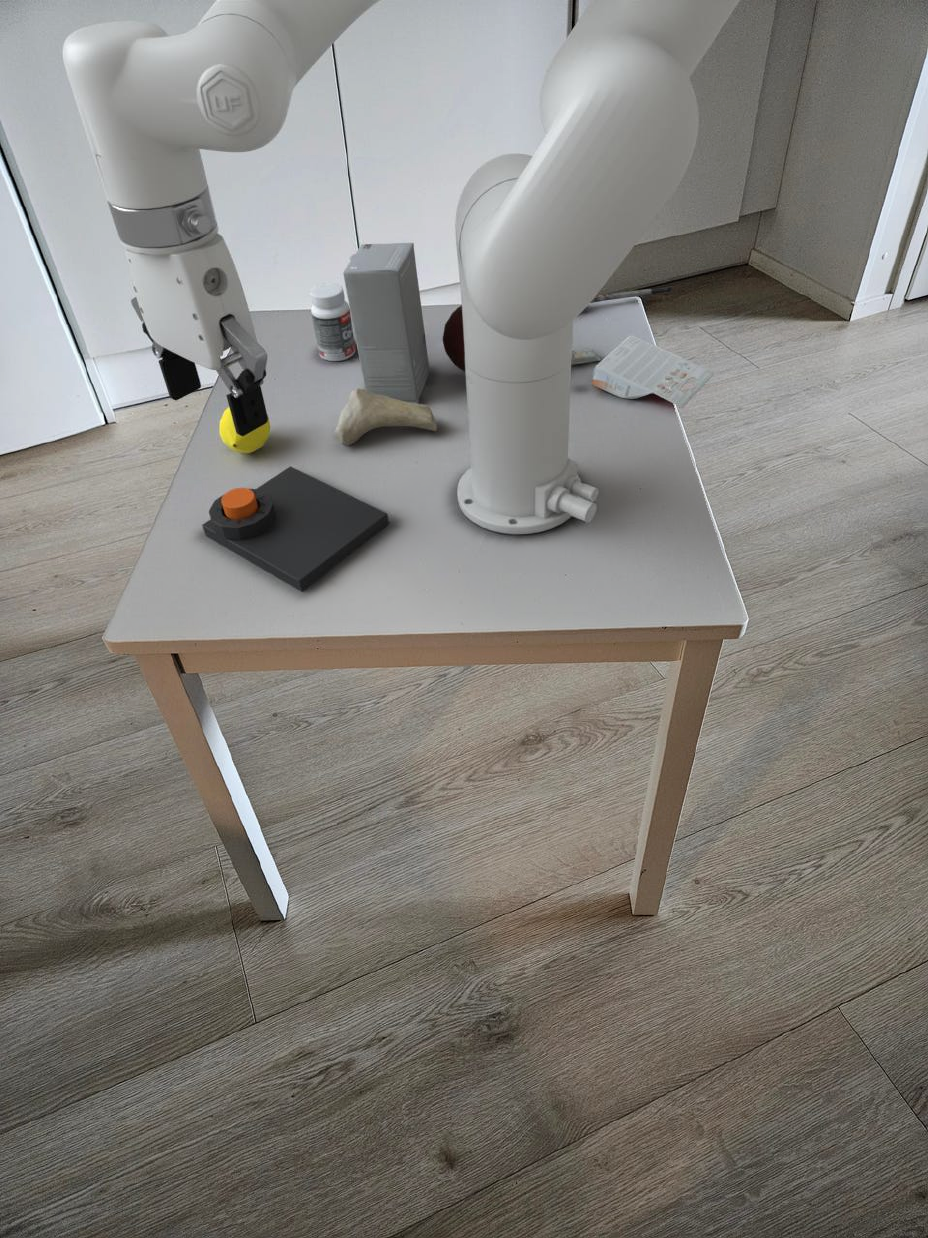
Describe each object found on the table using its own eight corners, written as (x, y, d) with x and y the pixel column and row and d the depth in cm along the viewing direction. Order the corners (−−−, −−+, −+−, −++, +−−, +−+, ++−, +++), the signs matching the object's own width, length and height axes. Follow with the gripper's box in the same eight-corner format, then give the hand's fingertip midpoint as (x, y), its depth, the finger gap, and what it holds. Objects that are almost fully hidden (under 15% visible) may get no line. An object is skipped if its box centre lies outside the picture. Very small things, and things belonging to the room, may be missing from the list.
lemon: (238, 429, 100) (226, 387, 96) (283, 431, 99) (273, 389, 96) (216, 465, 95) (203, 422, 92) (263, 467, 95) (251, 425, 91)
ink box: (625, 349, 107) (707, 391, 104) (588, 383, 102) (674, 428, 99) (631, 329, 105) (716, 371, 102) (594, 362, 100) (682, 408, 97)
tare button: (264, 507, 85) (261, 494, 84) (239, 524, 83) (236, 511, 82) (243, 496, 87) (239, 483, 86) (218, 512, 85) (214, 500, 84)
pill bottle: (353, 361, 110) (343, 297, 104) (317, 362, 110) (304, 299, 104) (357, 343, 113) (348, 280, 107) (322, 344, 113) (310, 282, 108)
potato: (441, 360, 108) (435, 288, 102) (536, 349, 109) (536, 276, 103) (449, 396, 102) (444, 322, 96) (549, 384, 103) (551, 310, 96)
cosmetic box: (418, 405, 102) (405, 272, 90) (359, 403, 103) (339, 271, 92) (432, 368, 108) (420, 239, 96) (376, 366, 109) (358, 238, 97)
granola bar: (596, 346, 107) (604, 359, 105) (594, 354, 108) (601, 367, 106) (543, 345, 106) (550, 359, 104) (541, 354, 106) (548, 368, 105)
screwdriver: (675, 303, 117) (666, 295, 120) (678, 281, 115) (668, 273, 118) (498, 327, 114) (492, 318, 116) (497, 305, 112) (491, 296, 114)
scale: (389, 524, 86) (385, 500, 84) (301, 592, 80) (295, 568, 78) (292, 476, 93) (287, 453, 91) (204, 535, 87) (196, 512, 85)
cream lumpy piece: (338, 452, 96) (331, 414, 92) (333, 422, 100) (326, 385, 97) (438, 437, 97) (435, 398, 93) (429, 408, 101) (426, 370, 98)
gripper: (275, 225, 65) (313, 424, 77) (141, 180, 73) (194, 365, 85) (193, 260, 61) (246, 463, 73) (61, 208, 69) (129, 397, 81)
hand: (218, 410), depth 79 cm, fingers open, 9 cm apart
